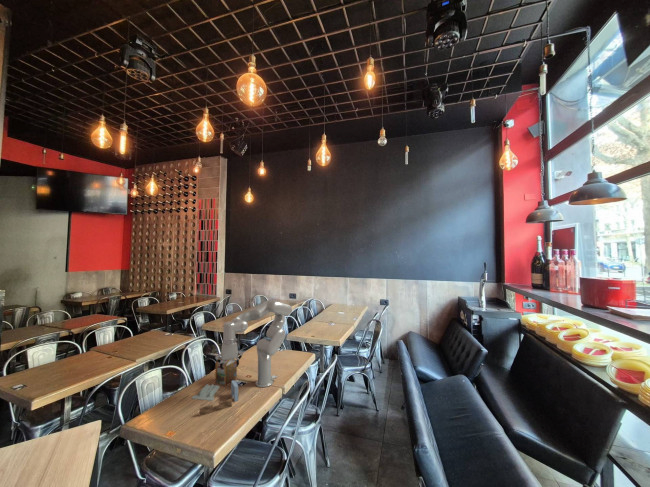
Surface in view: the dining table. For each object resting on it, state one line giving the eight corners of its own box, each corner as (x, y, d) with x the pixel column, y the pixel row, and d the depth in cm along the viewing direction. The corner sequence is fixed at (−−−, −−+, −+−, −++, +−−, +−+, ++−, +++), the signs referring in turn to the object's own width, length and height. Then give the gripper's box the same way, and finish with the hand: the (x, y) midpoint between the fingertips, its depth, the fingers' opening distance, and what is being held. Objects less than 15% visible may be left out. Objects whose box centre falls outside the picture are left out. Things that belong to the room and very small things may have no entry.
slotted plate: (231, 394, 175) (231, 381, 176) (234, 393, 176) (234, 380, 177) (234, 401, 167) (234, 387, 167) (238, 400, 168) (238, 386, 168)
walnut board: (231, 405, 162) (231, 398, 162) (231, 406, 161) (231, 399, 161) (199, 414, 153) (199, 407, 153) (199, 416, 152) (199, 409, 152)
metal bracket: (203, 381, 183) (223, 383, 180) (205, 388, 184) (224, 390, 181) (189, 397, 169) (210, 399, 166) (191, 405, 171) (212, 407, 168)
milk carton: (236, 379, 197) (236, 354, 198) (225, 386, 187) (225, 359, 188) (226, 377, 201) (226, 352, 202) (215, 382, 192) (215, 356, 193)
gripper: (242, 337, 180) (242, 362, 179) (215, 341, 172) (215, 367, 172) (243, 340, 173) (243, 367, 172) (215, 345, 166) (215, 372, 165)
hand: (229, 367), depth 172 cm, fingers open, 9 cm apart
